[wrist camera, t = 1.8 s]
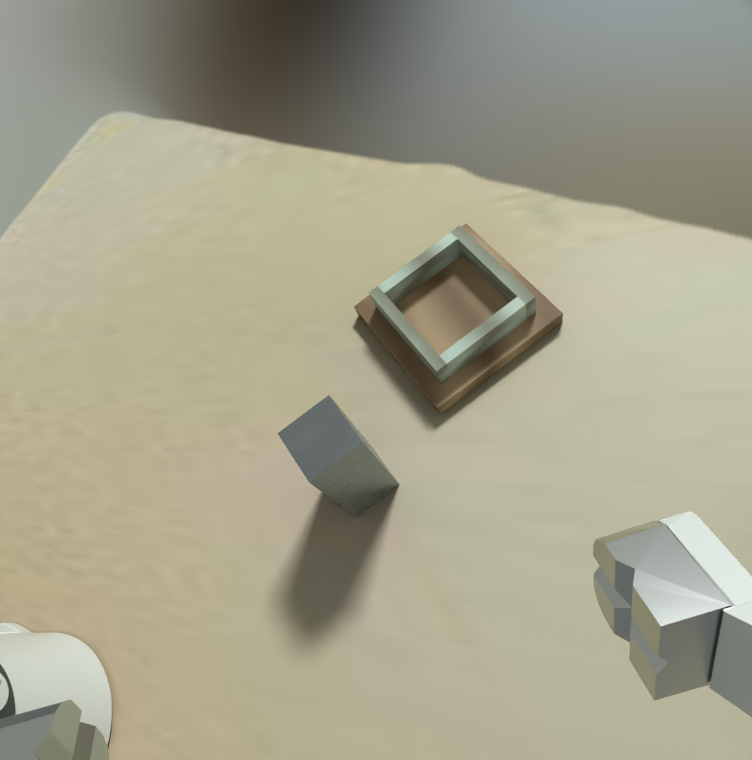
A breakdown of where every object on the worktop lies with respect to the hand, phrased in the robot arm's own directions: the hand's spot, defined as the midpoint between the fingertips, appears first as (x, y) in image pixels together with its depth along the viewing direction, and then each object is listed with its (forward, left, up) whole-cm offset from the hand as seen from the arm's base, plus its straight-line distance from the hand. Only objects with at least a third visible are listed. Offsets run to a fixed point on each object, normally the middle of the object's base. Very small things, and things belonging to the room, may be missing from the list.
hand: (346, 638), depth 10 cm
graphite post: (-1, +17, -39) cm, 43 cm away
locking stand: (+14, +24, -39) cm, 48 cm away
